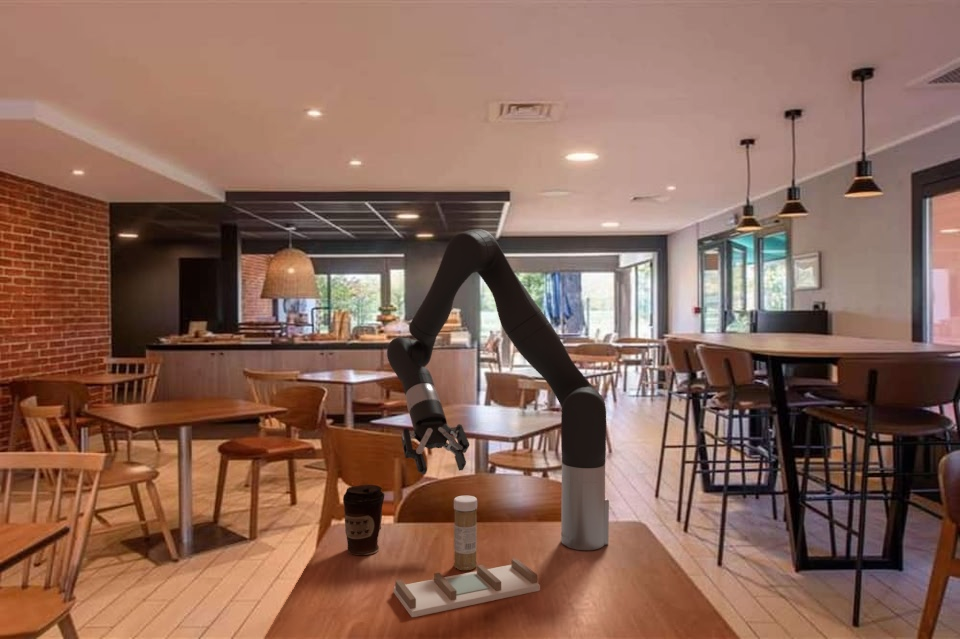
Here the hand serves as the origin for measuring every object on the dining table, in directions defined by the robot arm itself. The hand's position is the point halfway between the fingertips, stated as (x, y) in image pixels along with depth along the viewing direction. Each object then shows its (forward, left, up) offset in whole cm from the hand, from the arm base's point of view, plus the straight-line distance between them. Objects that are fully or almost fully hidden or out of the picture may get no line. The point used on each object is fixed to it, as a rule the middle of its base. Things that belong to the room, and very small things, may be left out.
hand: (443, 470), depth 134 cm
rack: (+4, +22, -16) cm, 27 cm away
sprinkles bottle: (0, +12, -16) cm, 20 cm away
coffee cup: (+16, -4, -16) cm, 23 cm away
